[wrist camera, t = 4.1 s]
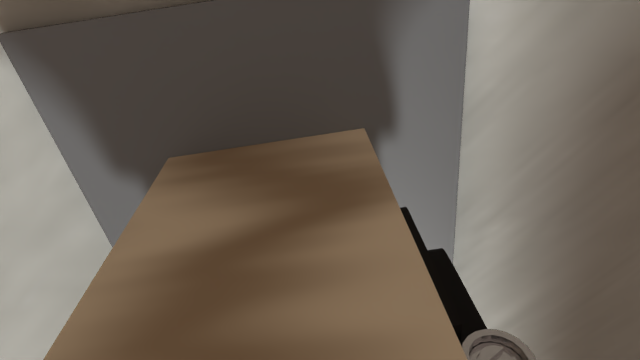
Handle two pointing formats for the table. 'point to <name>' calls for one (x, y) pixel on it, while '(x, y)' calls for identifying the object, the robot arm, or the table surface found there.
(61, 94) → the gray board
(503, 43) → the table surface
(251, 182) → the maple block
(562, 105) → the table surface
